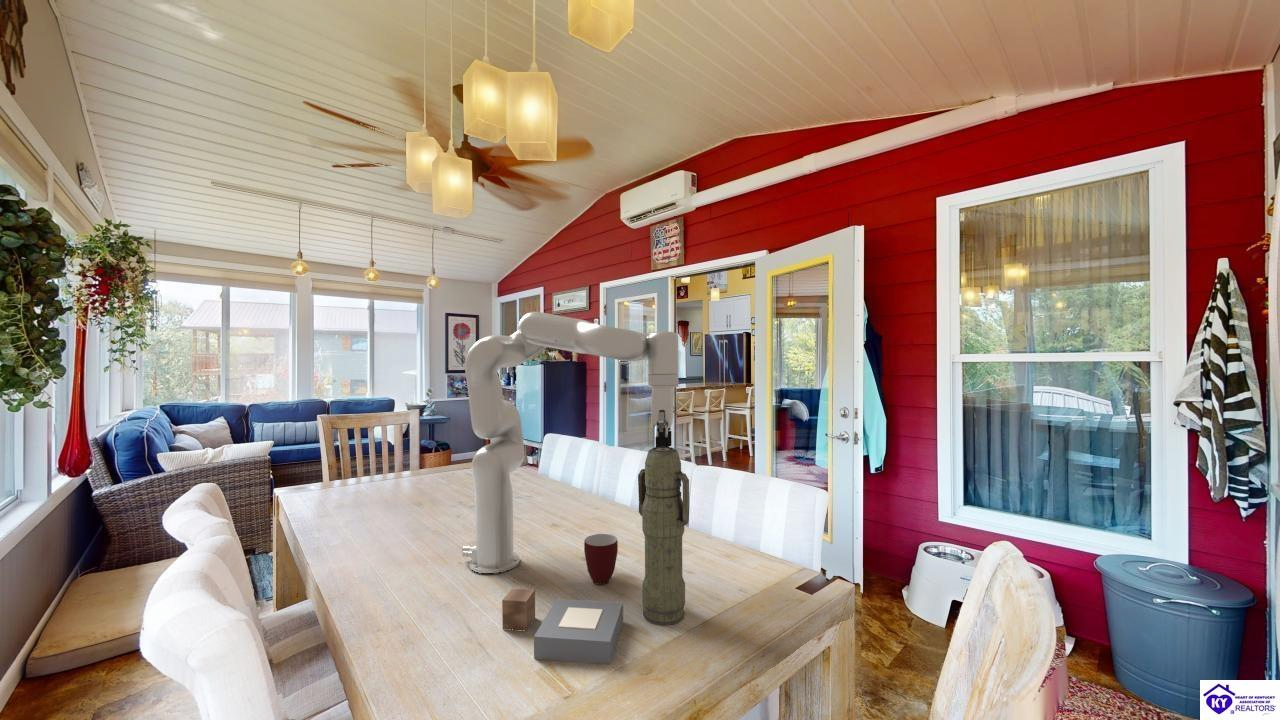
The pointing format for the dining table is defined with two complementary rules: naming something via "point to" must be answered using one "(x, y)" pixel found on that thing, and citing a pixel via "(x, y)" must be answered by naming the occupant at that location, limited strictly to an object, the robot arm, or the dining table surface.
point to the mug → (601, 556)
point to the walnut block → (518, 609)
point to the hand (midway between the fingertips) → (663, 449)
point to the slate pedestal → (579, 631)
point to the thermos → (663, 534)
